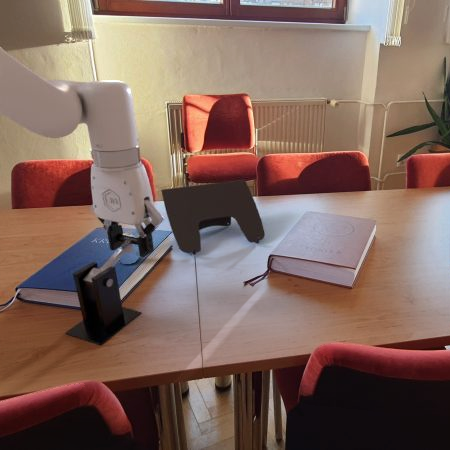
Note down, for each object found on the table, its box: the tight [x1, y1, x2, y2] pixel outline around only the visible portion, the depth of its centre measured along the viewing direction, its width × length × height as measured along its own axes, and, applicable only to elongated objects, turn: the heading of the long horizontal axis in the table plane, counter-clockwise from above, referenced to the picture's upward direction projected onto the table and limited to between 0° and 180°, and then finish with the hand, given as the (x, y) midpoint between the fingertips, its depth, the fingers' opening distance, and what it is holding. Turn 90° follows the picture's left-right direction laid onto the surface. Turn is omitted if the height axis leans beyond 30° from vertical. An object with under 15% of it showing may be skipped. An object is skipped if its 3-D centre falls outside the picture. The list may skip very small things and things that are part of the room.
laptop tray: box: [160, 179, 266, 258], centre depth 115 cm, size 23×23×9 cm
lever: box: [83, 233, 139, 290], centre depth 79 cm, size 12×6×2 cm, turn 159°
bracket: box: [64, 261, 143, 347], centre depth 77 cm, size 10×8×12 cm
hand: (132, 249), depth 83 cm, fingers closed on lever, 6 cm apart
